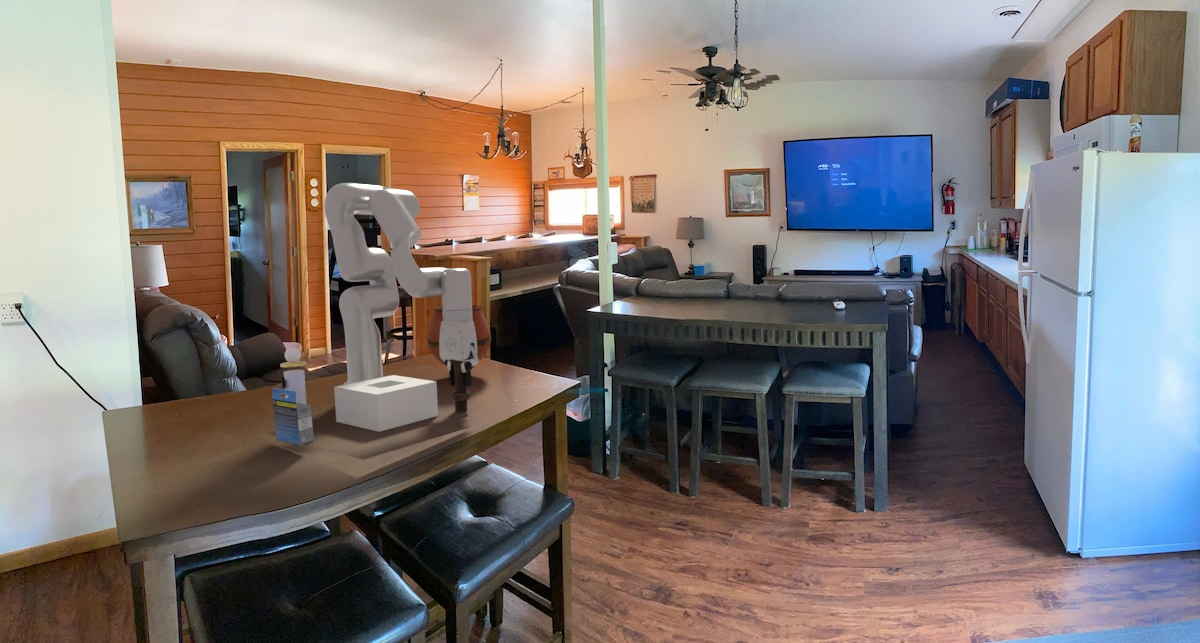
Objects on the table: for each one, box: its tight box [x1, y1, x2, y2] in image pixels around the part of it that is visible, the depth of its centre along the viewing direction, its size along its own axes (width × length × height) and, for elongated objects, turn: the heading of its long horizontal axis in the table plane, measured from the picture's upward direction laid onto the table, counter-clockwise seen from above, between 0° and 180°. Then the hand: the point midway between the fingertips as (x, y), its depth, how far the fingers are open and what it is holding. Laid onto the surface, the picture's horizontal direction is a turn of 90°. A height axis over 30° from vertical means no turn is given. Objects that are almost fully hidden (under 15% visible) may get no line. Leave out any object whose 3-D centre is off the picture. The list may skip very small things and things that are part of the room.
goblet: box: [426, 305, 492, 367], centre depth 213 cm, size 19×19×25 cm
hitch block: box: [333, 374, 439, 433], centre depth 176 cm, size 17×18×9 cm
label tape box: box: [272, 387, 315, 445], centre depth 157 cm, size 9×4×12 cm, turn 59°
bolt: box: [449, 358, 471, 413], centre depth 181 cm, size 6×5×15 cm
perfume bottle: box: [279, 346, 308, 405], centre depth 167 cm, size 6×6×20 cm
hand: (460, 385), depth 181 cm, fingers closed on bolt, 3 cm apart
